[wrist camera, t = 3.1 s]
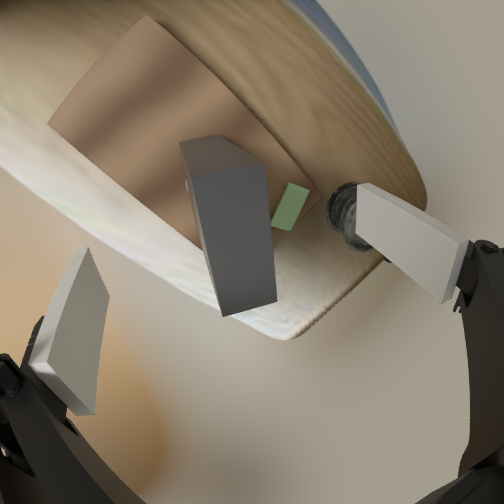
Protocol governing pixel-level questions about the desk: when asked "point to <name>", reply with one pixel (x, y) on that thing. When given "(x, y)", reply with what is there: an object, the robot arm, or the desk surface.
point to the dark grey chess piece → (347, 217)
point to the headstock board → (164, 124)
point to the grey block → (231, 221)
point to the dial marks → (289, 206)
